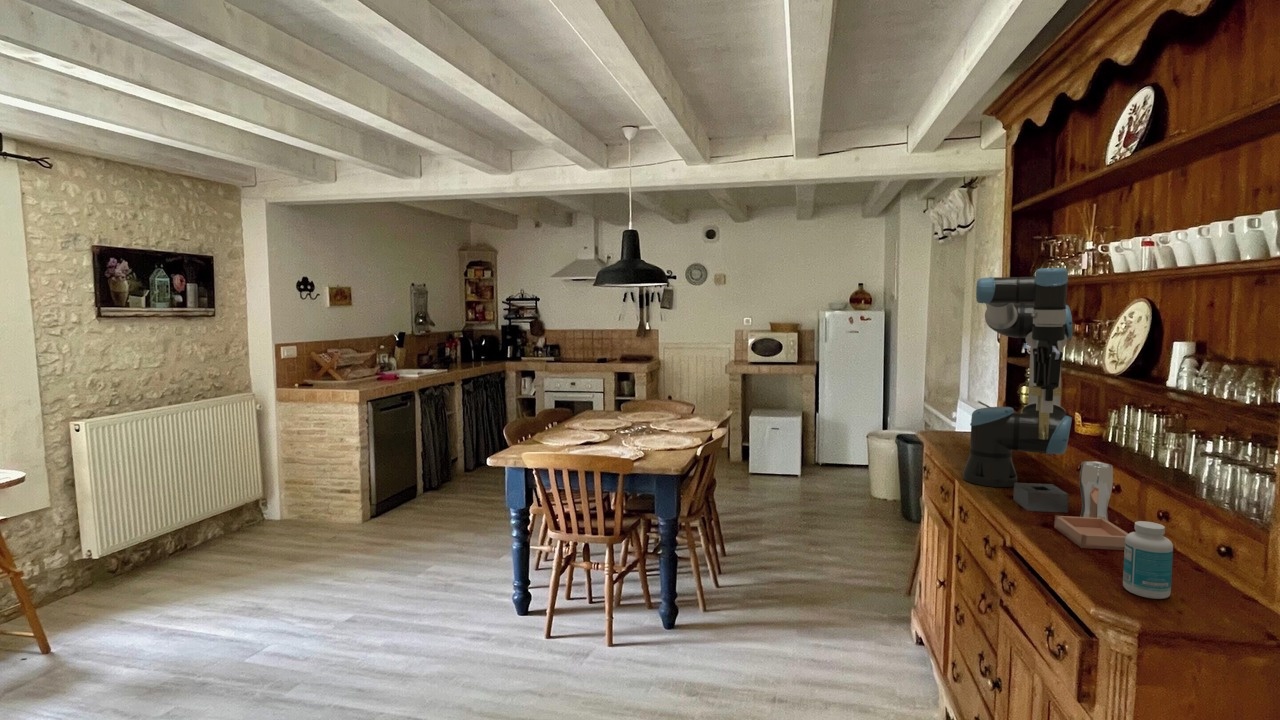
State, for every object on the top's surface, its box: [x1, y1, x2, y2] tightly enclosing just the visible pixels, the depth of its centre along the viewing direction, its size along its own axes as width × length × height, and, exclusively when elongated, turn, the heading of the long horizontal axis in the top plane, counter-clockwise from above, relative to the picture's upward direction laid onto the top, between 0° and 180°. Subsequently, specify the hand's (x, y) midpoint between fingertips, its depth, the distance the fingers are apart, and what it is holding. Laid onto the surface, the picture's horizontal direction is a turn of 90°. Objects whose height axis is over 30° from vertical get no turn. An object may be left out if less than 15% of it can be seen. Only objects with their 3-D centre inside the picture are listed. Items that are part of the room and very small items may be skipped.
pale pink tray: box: [1054, 515, 1129, 551], centre depth 157 cm, size 14×11×3 cm
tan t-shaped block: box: [1028, 386, 1063, 440], centre depth 180 cm, size 7×2×14 cm, turn 80°
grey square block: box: [1012, 482, 1070, 514], centre depth 182 cm, size 10×10×5 cm
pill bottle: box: [1122, 520, 1174, 600], centre depth 128 cm, size 8×7×14 cm
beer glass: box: [1079, 460, 1114, 521], centre depth 168 cm, size 7×7×15 cm
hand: (1044, 411), depth 180 cm, fingers closed on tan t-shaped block, 2 cm apart
